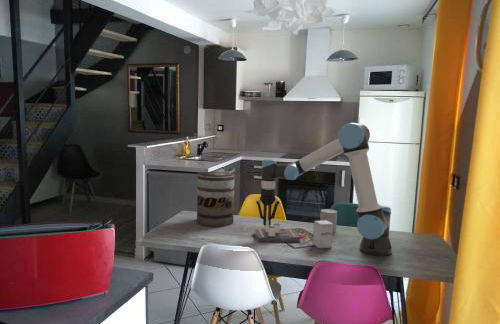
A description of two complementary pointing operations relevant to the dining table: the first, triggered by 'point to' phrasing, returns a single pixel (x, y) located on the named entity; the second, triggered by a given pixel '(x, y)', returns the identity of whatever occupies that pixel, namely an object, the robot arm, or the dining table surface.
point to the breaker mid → (277, 227)
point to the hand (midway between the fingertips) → (266, 231)
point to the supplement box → (323, 234)
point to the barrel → (215, 199)
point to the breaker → (271, 231)
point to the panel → (277, 236)
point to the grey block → (329, 217)
